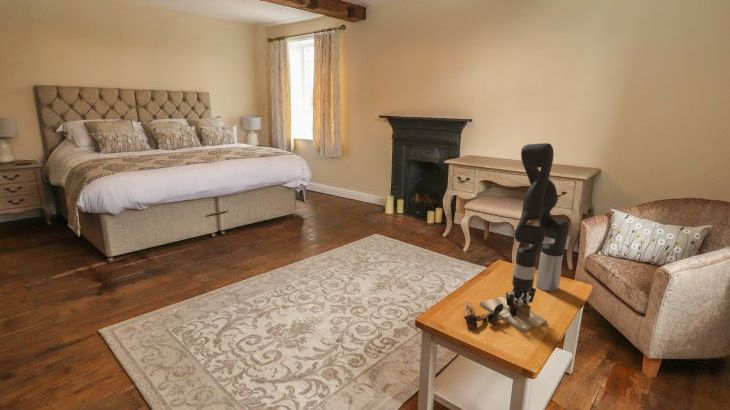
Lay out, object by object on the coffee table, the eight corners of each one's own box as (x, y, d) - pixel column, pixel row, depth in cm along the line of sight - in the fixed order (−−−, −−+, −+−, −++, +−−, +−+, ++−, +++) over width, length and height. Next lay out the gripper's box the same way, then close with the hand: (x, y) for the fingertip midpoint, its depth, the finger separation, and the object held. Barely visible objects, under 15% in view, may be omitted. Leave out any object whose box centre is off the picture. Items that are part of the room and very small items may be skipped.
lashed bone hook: (488, 334, 146) (483, 309, 163) (490, 323, 145) (484, 299, 162) (463, 330, 148) (460, 305, 165) (464, 319, 146) (461, 295, 163)
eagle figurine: (509, 326, 149) (507, 310, 157) (500, 311, 147) (499, 297, 155) (490, 331, 152) (489, 316, 160) (481, 317, 150) (481, 303, 158)
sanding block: (515, 309, 161) (516, 298, 160) (529, 317, 155) (530, 306, 153) (508, 311, 159) (509, 300, 158) (521, 320, 153) (523, 308, 152)
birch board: (504, 298, 172) (504, 295, 172) (546, 323, 154) (547, 320, 153) (479, 304, 166) (479, 302, 166) (521, 331, 147) (521, 328, 147)
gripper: (529, 268, 159) (523, 305, 163) (502, 274, 153) (497, 313, 157) (544, 275, 153) (538, 314, 157) (518, 281, 146) (512, 322, 150)
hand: (518, 313), depth 157 cm, fingers open, 5 cm apart
